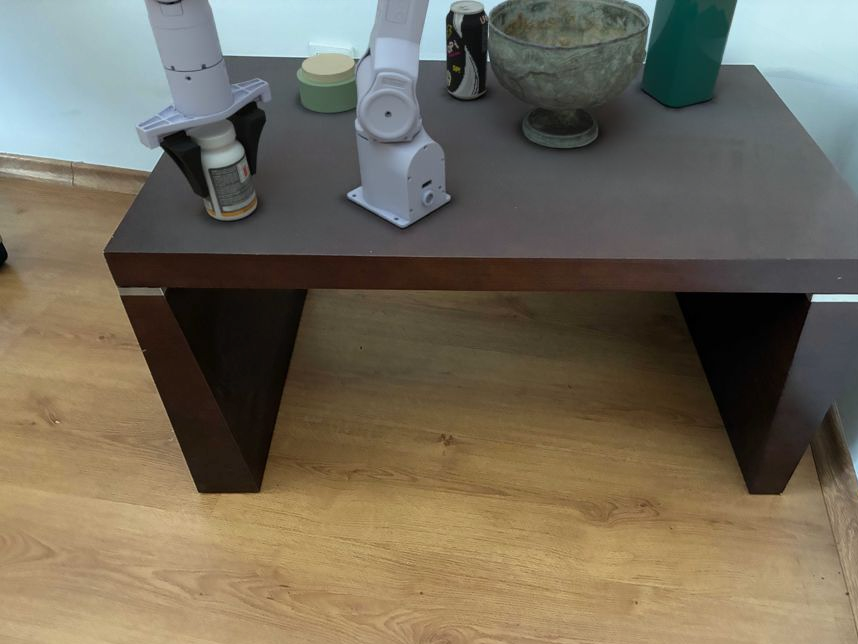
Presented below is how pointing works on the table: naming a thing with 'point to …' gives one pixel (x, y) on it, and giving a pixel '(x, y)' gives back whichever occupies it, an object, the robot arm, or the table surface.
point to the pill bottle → (225, 171)
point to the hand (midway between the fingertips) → (226, 182)
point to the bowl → (566, 61)
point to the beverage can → (466, 49)
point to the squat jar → (328, 83)
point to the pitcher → (686, 49)
